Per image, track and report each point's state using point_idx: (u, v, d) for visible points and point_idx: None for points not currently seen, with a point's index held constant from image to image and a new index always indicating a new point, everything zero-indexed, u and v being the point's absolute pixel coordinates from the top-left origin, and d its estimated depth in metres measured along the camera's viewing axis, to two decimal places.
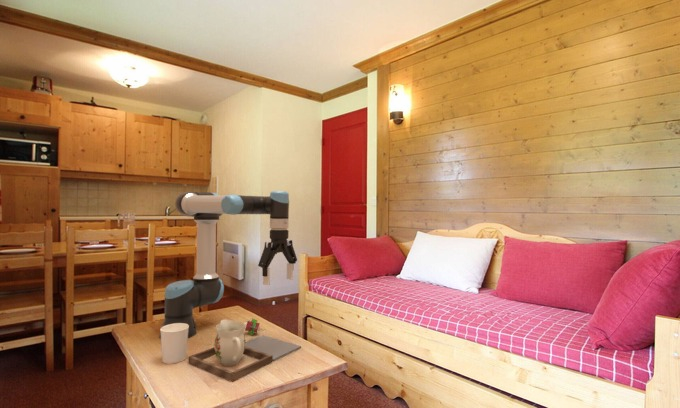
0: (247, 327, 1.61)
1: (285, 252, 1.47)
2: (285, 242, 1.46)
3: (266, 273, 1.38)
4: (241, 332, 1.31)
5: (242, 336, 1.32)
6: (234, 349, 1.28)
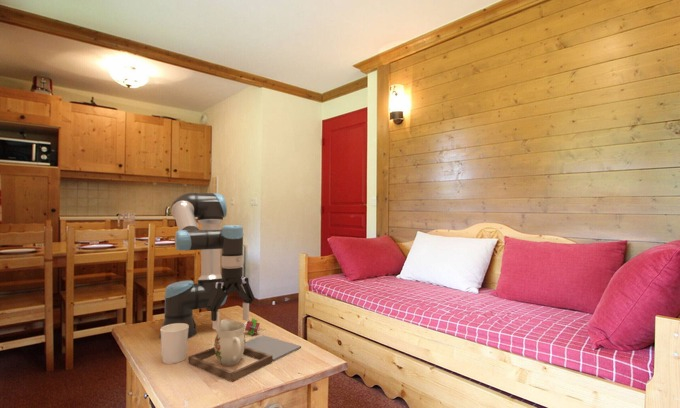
0: (247, 327, 1.61)
1: (239, 291, 1.34)
2: (239, 280, 1.34)
3: (215, 317, 1.25)
4: (241, 332, 1.31)
5: (242, 336, 1.32)
6: (234, 349, 1.28)
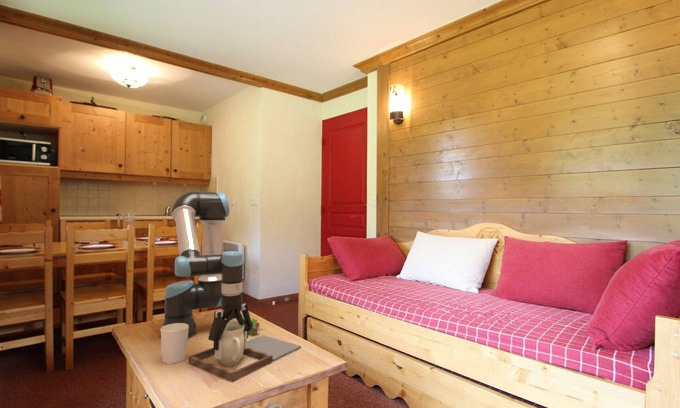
0: None
1: (238, 318, 1.34)
2: (239, 307, 1.34)
3: (217, 347, 1.26)
4: (241, 332, 1.31)
5: (242, 336, 1.32)
6: (234, 350, 1.28)
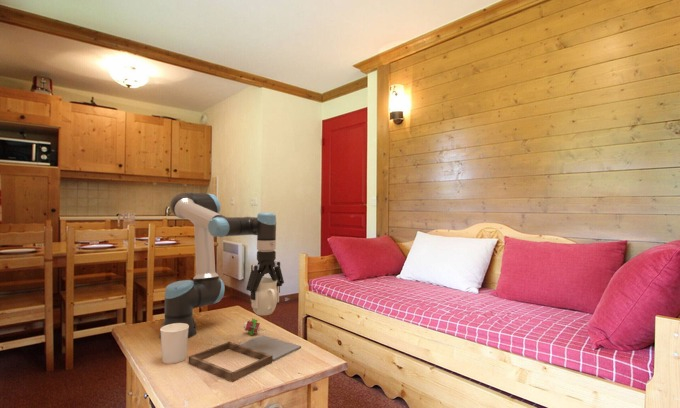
0: (247, 327, 1.61)
1: (272, 274, 1.47)
2: (272, 263, 1.47)
3: (254, 296, 1.39)
4: (274, 285, 1.44)
5: (275, 289, 1.45)
6: (269, 300, 1.41)
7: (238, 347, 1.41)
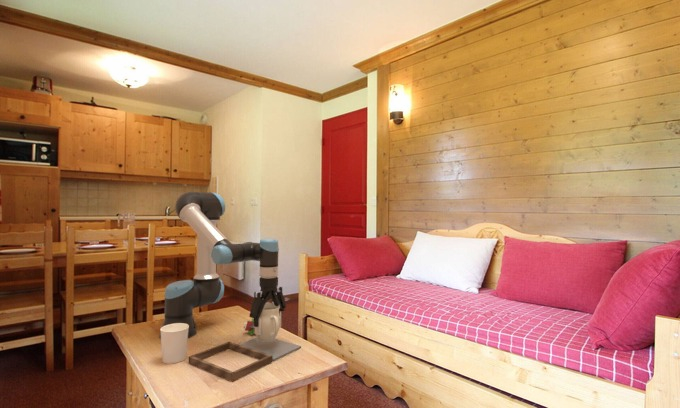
0: (247, 327, 1.61)
1: (274, 299, 1.49)
2: (275, 289, 1.48)
3: (257, 323, 1.41)
4: (277, 311, 1.46)
5: (278, 315, 1.46)
6: (272, 326, 1.42)
7: (238, 347, 1.41)
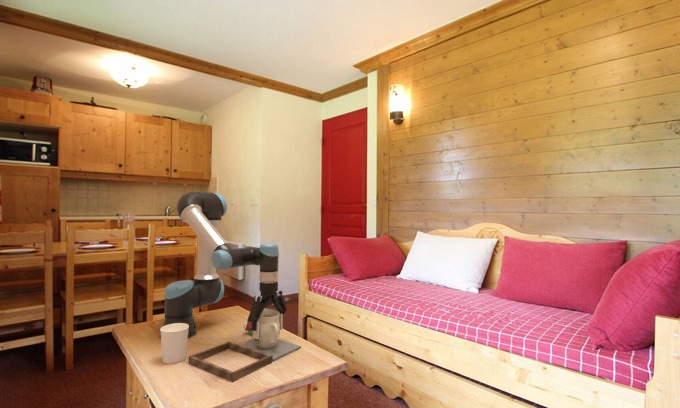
0: (247, 327, 1.61)
1: (275, 303, 1.49)
2: (275, 293, 1.48)
3: (255, 327, 1.40)
4: (277, 318, 1.45)
5: (278, 322, 1.46)
6: (271, 334, 1.42)
7: (238, 347, 1.41)
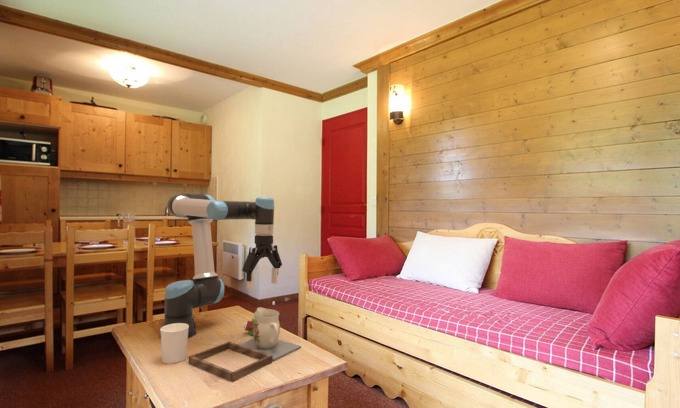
0: (247, 327, 1.61)
1: (270, 257, 1.49)
2: (270, 247, 1.49)
3: (250, 278, 1.40)
4: (277, 318, 1.46)
5: (277, 322, 1.46)
6: (271, 334, 1.42)
7: (238, 347, 1.41)
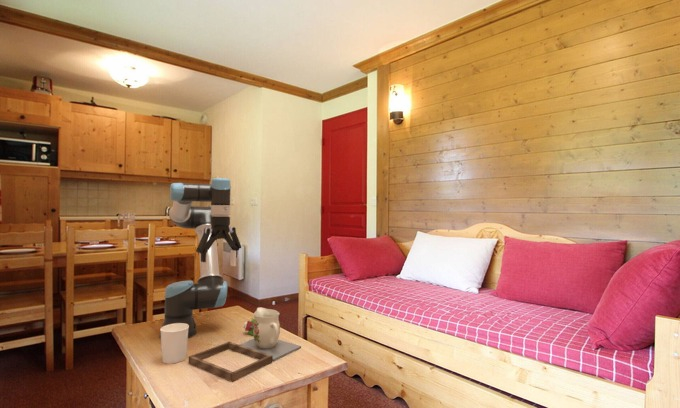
0: (247, 327, 1.61)
1: (227, 239, 1.48)
2: (227, 229, 1.48)
3: (204, 259, 1.39)
4: (277, 318, 1.46)
5: (277, 322, 1.46)
6: (271, 334, 1.42)
7: (238, 347, 1.41)
